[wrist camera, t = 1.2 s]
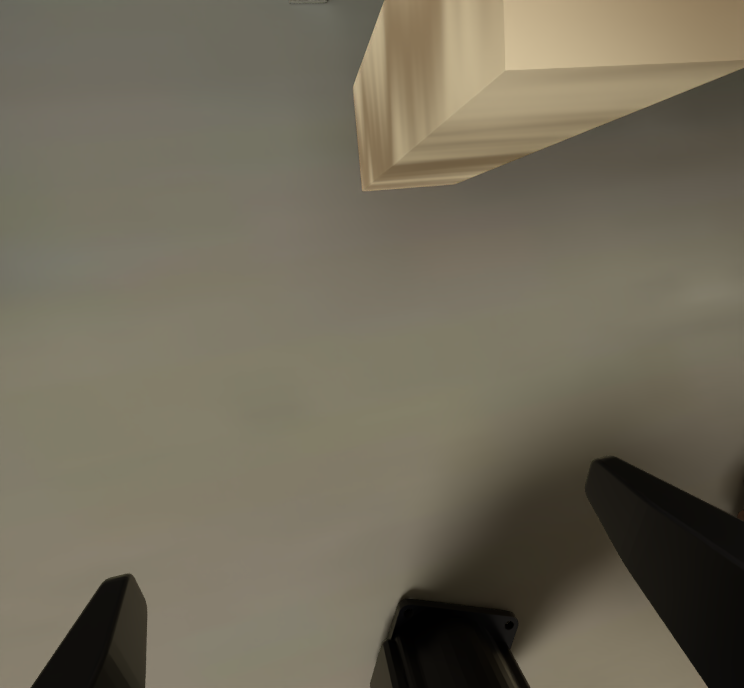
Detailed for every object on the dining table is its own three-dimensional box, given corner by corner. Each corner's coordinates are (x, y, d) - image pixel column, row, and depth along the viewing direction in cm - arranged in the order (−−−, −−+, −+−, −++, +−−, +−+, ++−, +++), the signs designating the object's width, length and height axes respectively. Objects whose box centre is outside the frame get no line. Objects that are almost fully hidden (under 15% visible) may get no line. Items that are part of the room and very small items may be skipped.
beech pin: (454, 184, 21) (765, 59, 7) (362, 191, 20) (505, 70, 6) (449, 82, 20) (790, -283, 6) (352, 87, 19) (495, -303, 6)
